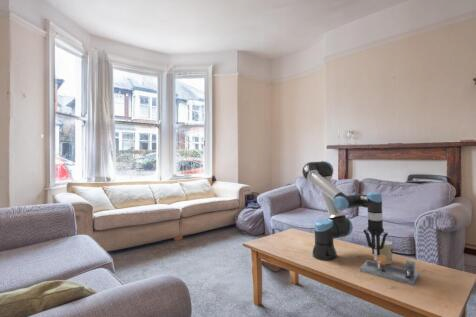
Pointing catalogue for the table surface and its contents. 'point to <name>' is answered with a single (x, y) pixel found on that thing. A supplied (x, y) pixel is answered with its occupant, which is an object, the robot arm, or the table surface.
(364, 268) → the plate
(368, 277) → the table surface
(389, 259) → the coffee cup
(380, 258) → the block
